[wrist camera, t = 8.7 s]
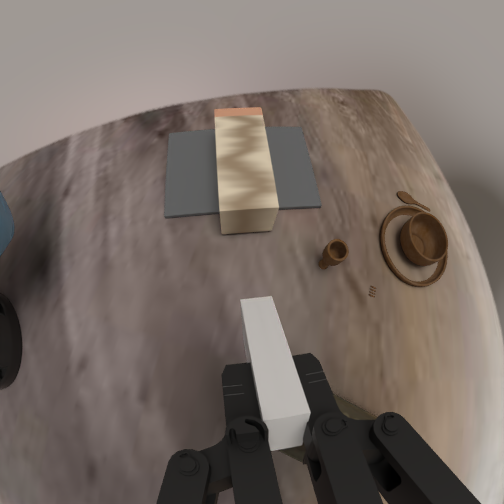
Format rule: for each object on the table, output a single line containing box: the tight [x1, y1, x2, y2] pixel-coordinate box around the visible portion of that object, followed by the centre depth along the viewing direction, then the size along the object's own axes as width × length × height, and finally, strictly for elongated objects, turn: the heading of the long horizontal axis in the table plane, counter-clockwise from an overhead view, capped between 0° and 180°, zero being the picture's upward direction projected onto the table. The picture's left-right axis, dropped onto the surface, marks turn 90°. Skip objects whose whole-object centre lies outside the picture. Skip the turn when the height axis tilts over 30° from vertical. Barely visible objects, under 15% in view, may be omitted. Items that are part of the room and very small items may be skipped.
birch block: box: [215, 108, 279, 234], centre depth 34 cm, size 6×6×15 cm
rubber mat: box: [164, 127, 322, 218], centre depth 38 cm, size 20×14×1 cm
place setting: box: [319, 191, 448, 297], centre depth 34 cm, size 18×20×6 cm
